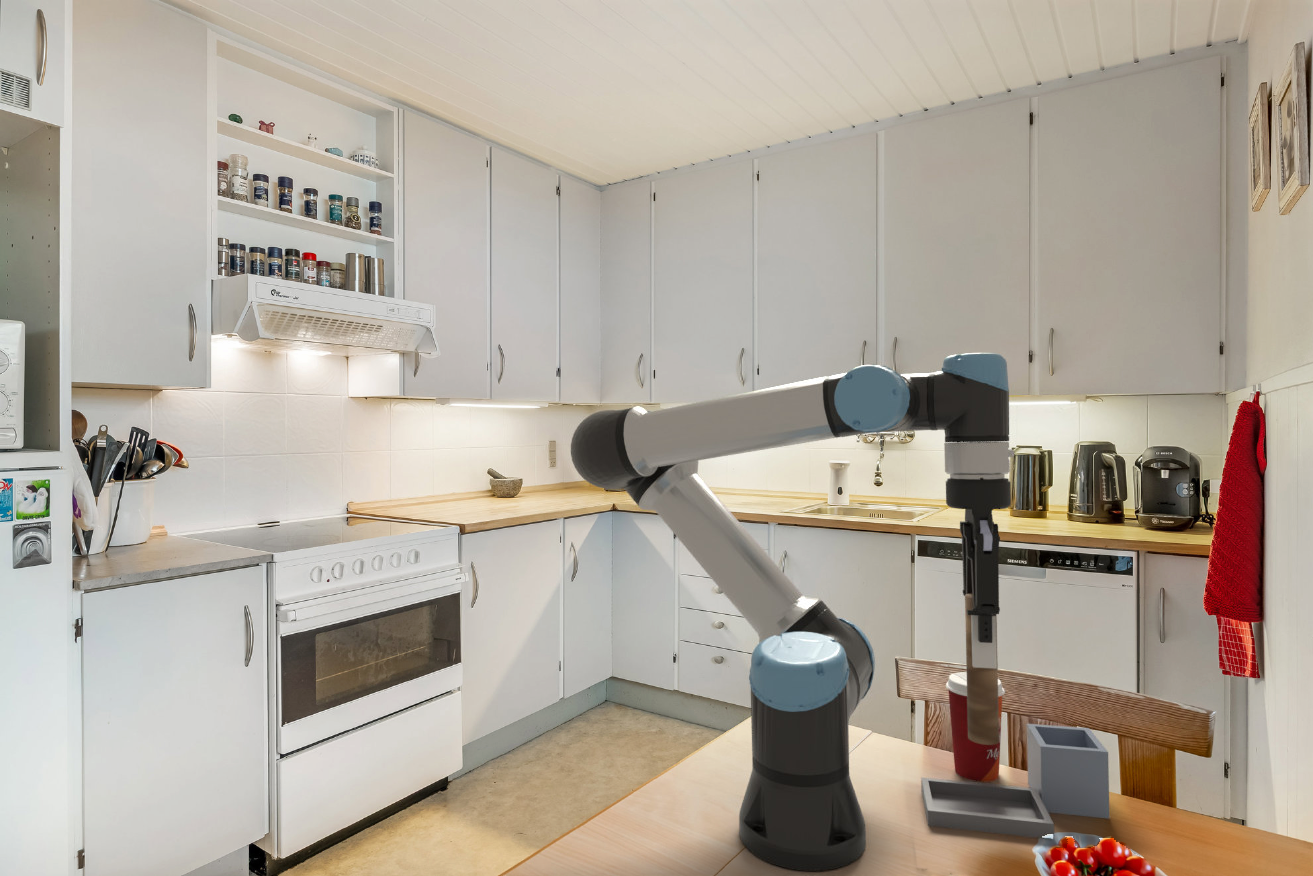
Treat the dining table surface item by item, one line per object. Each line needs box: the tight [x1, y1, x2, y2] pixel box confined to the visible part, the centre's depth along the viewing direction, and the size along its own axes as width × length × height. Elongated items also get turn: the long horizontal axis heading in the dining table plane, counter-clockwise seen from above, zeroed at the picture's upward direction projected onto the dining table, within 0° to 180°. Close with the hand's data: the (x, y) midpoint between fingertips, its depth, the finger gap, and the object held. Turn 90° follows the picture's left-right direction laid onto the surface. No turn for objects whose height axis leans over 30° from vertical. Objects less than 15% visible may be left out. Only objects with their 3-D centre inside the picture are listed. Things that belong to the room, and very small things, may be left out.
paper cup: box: [945, 671, 1006, 783], centre depth 103 cm, size 8×8×14 cm
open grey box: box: [1026, 723, 1110, 820], centre depth 95 cm, size 8×8×9 cm
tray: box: [920, 777, 1055, 839], centre depth 92 cm, size 14×9×3 cm, turn 75°
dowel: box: [964, 593, 999, 745], centre depth 92 cm, size 4×4×18 cm
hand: (981, 661), depth 92 cm, fingers closed on dowel, 3 cm apart
